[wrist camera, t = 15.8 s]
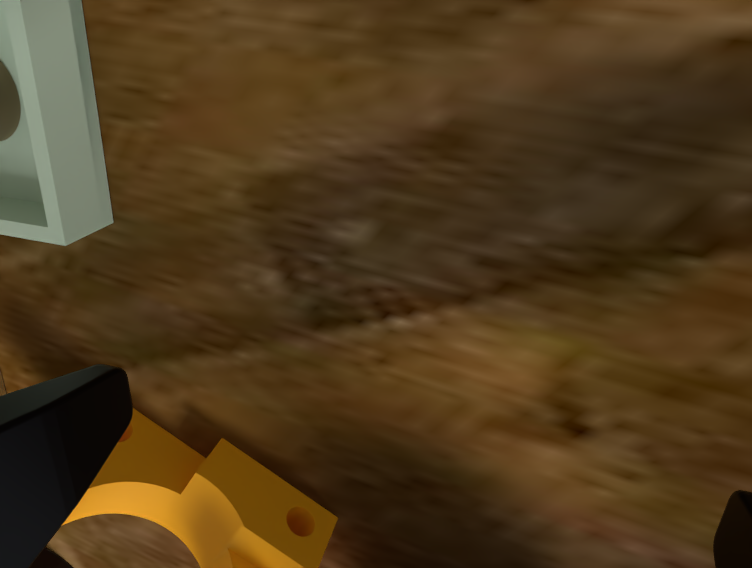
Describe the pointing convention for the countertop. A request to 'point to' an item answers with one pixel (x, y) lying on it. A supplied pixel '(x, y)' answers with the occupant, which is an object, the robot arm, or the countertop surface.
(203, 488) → the pipe clamp
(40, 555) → the coffee mug
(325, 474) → the countertop surface
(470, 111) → the countertop surface
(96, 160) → the tray
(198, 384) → the countertop surface
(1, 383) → the bar
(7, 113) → the oak dowel
